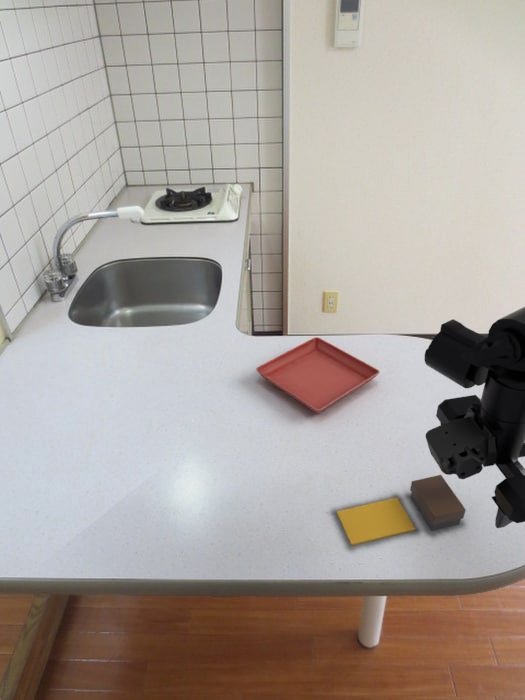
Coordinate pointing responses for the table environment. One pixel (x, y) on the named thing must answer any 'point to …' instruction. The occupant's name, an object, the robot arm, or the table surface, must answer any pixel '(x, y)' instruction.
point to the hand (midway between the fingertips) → (480, 498)
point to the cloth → (375, 521)
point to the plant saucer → (317, 374)
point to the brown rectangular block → (437, 502)
